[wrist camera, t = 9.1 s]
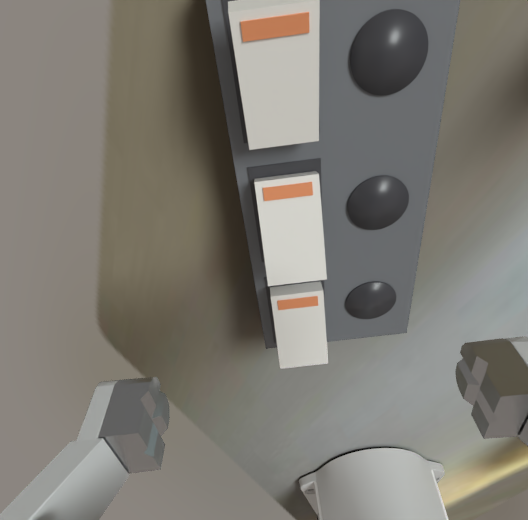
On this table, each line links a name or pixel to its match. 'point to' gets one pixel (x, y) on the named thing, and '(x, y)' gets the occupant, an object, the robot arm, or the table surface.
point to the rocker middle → (291, 228)
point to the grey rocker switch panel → (356, 154)
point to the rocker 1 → (277, 69)
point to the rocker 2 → (300, 324)
